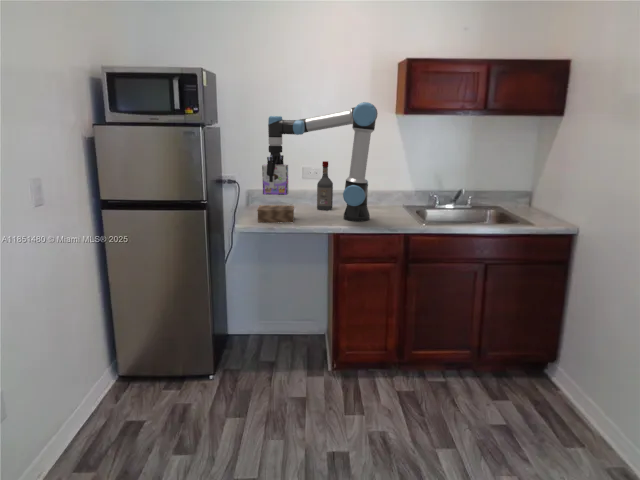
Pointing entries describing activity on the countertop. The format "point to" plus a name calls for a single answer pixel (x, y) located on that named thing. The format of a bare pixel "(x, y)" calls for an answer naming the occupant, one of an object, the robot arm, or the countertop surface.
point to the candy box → (276, 180)
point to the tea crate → (275, 213)
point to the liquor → (324, 190)
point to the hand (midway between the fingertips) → (275, 186)
